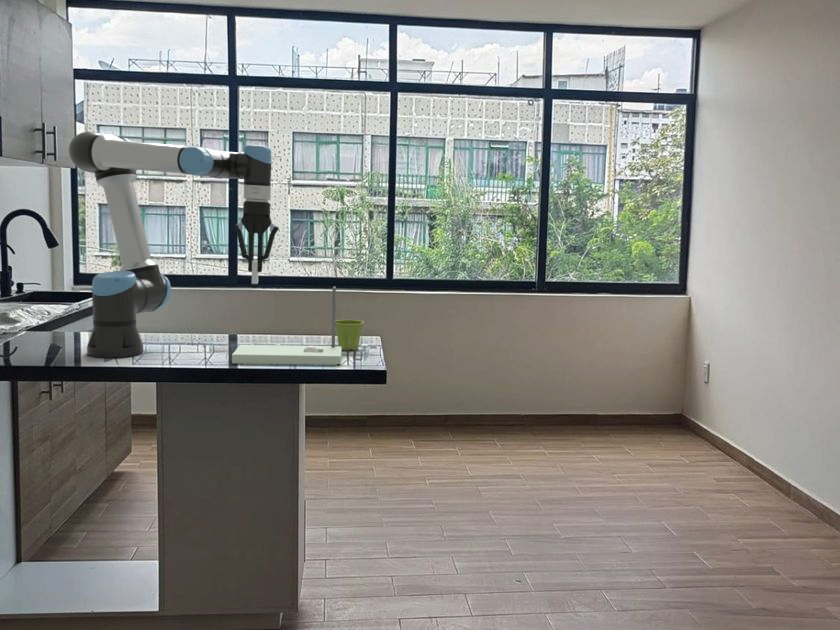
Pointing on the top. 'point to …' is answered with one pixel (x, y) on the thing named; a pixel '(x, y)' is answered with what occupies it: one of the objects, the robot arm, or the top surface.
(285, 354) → the green
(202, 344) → the top surface
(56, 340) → the top surface
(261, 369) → the top surface
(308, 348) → the ball
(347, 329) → the plant pot
